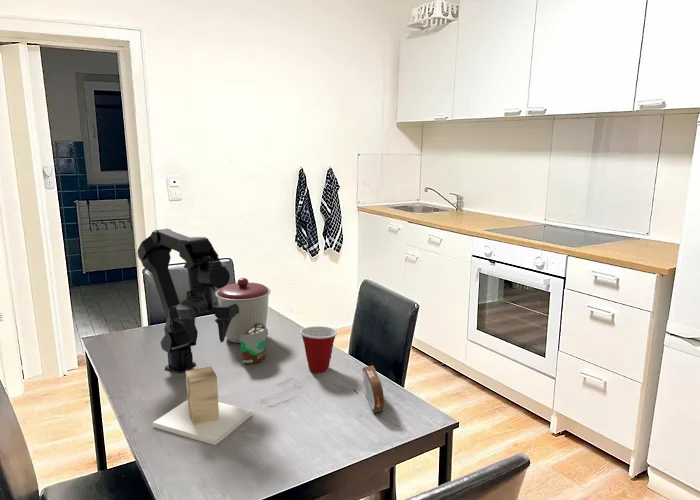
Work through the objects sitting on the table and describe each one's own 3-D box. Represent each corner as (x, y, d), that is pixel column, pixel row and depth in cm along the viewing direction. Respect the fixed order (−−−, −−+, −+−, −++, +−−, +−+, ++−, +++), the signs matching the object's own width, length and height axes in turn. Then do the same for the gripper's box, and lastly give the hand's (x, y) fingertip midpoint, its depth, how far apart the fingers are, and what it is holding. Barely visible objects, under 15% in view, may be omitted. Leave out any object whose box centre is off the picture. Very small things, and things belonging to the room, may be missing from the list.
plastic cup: (343, 364, 153) (343, 327, 150) (327, 379, 143) (326, 339, 141) (311, 358, 157) (311, 321, 155) (293, 372, 148) (293, 333, 145)
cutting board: (153, 426, 119) (152, 422, 119) (193, 399, 132) (193, 395, 132) (215, 445, 112) (215, 440, 112) (252, 414, 125) (251, 410, 124)
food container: (260, 369, 150) (259, 337, 148) (240, 367, 151) (239, 335, 149) (274, 352, 162) (273, 322, 160) (256, 350, 163) (255, 321, 161)
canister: (229, 327, 184) (226, 270, 179) (278, 329, 181) (276, 272, 177) (209, 346, 166) (205, 284, 162) (262, 349, 164) (260, 286, 159)
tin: (385, 418, 124) (385, 386, 122) (372, 419, 123) (373, 387, 121) (372, 388, 138) (372, 360, 136) (361, 389, 138) (361, 360, 136)
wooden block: (188, 413, 123) (185, 371, 121) (213, 407, 126) (211, 366, 123) (193, 425, 118) (190, 381, 115) (219, 419, 120) (216, 376, 118)
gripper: (151, 292, 131) (159, 350, 133) (213, 291, 125) (220, 352, 127) (178, 283, 141) (185, 337, 143) (237, 282, 135) (243, 338, 137)
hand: (207, 341), depth 137 cm, fingers open, 9 cm apart
